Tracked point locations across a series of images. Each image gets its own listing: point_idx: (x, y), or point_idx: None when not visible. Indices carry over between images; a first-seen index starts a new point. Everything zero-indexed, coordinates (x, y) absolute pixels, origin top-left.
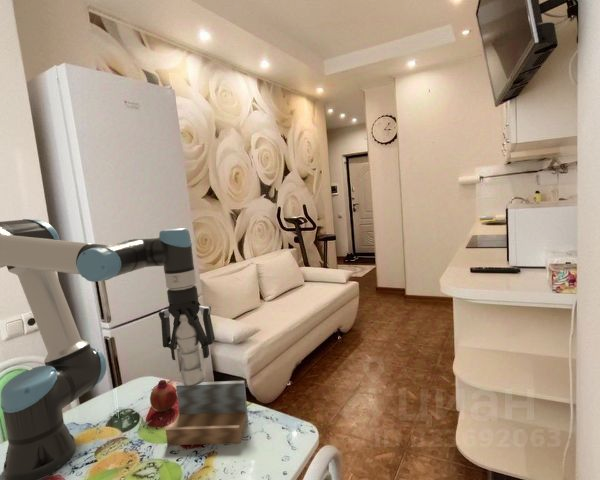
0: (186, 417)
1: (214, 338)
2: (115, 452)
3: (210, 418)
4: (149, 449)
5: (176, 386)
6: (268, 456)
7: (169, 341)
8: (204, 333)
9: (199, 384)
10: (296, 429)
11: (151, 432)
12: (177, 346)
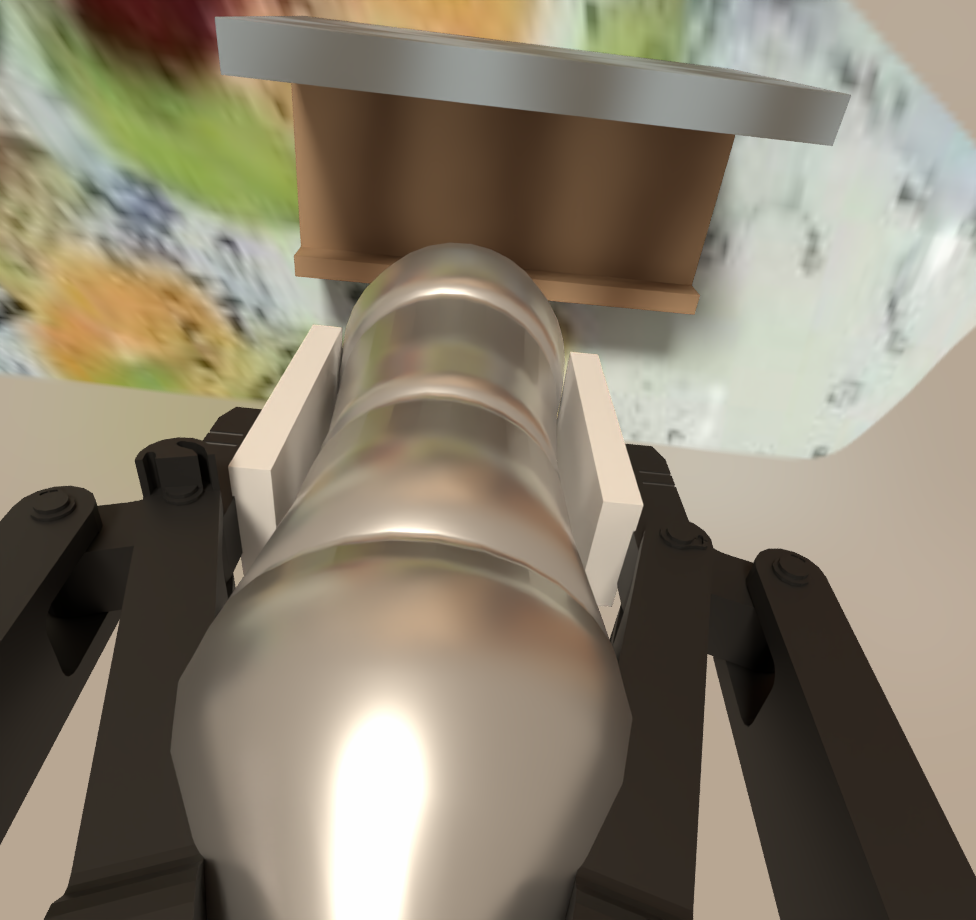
0: (354, 106)
1: (823, 586)
2: (71, 264)
3: (517, 146)
4: (236, 266)
5: (226, 74)
6: (781, 376)
7: (91, 569)
8: (702, 661)
9: (442, 92)
10: (964, 220)
11: (160, 119)
12: (234, 489)
